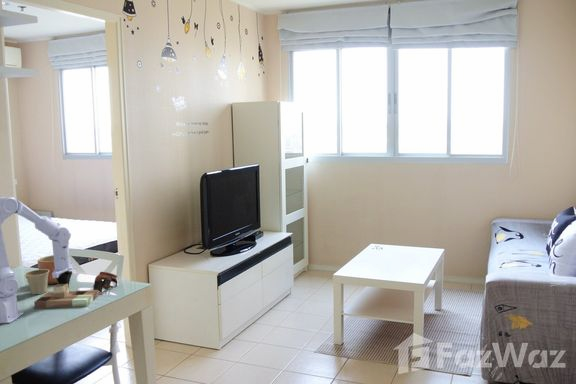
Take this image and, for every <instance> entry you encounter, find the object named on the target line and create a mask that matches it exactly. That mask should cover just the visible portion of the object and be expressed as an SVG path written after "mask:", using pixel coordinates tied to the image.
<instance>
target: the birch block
mask: <svg viewBox="0 0 576 384" xmlns="http://www.w3.org/2000/svg"><path fill="white" fill-rule="evenodd" d="M52 290H53V292H54V298H58V297H66V296H67V295H68V294H69V291H70V290H69V289H68V284H59V283H57V284H55V286H53V289H52Z"/></svg>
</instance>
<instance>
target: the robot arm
mask: <svg viewBox="0 0 576 384" xmlns="http://www.w3.org/2000/svg"><path fill="white" fill-rule="evenodd" d="M14 214H17V215H19V216H21V217H23V218H24V219H25V220H27V221H30V222H31V223H33V224H34V228H35V229H36V230H38V232H41V233H42V234H44V235H46V236H47V237H48V239H49V240H50V241H51V244H52V251H53V252H52V255H54V265H55V269H54V272H53V273H52V277H53V278H56V279H57V281H58V283H57V284H68V289H69V288H70V282H71V277H72V275H73V271H72V270H74V263H73V262H71V257H70V246H69V244H70V242H69V241H70V238H71V236H72V233H71V232H70V230H69V229H68V228H66V227H62V226H61V224H60V223H59V222H58V223H57V222H56V221H53V220H52V217H51V216H49V215H48V216H46V215H42V216H40V215H39V214H38V213H36V212H35V211H34V210H33V209H31V208H29V207H28V206H27V205H26V204H24V203H23V202H22V201H21V200H19V199H16V198H15V197H14V196H13V197H12V196H0V324H10V323H13V322H14V321H15V320H17V319H18V318H20V317H21V316H22V315H24V312H20V311H19V308H18V307H19V306H18V298H17V291H18V289H19V287H20V283H19V280H18V279H17V278H16V276H15V272H14V271H13V270H12V268H11V267H10V265H9V259H8V254H7V249H6V245H5V241H4V240H5V239H4V235H3V229H2V224H3V223H4V221H5V220H7V219H8V218H10V217H11V216H12V215H14Z"/></svg>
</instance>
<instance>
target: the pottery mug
mask: <svg viewBox="0 0 576 384" xmlns="http://www.w3.org/2000/svg"><path fill="white" fill-rule="evenodd" d="M117 277H118V275H116V274H114V273H110V272H107V271H100V272H99V273H98V275H97V276H96V277H95V278H94V279H95V280H94V283H93V285H92V287H93V288H92V290H98V292H99V293H100V292H101V293H102V292H103V289H104V290H109V289H110V287H111V284H112V283H115V287H117V286H118V279H117Z"/></svg>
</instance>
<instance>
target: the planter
mask: <svg viewBox="0 0 576 384" xmlns="http://www.w3.org/2000/svg"><path fill="white" fill-rule="evenodd" d="M41 269H46V270H49V273H48V283H47V285H58V284H59V283H58V281H57V279H56V278H53V277H52V273H53V272H54V269H55V265H54V254H51V255H46V256H43V257H40V258H37V270H41Z"/></svg>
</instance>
